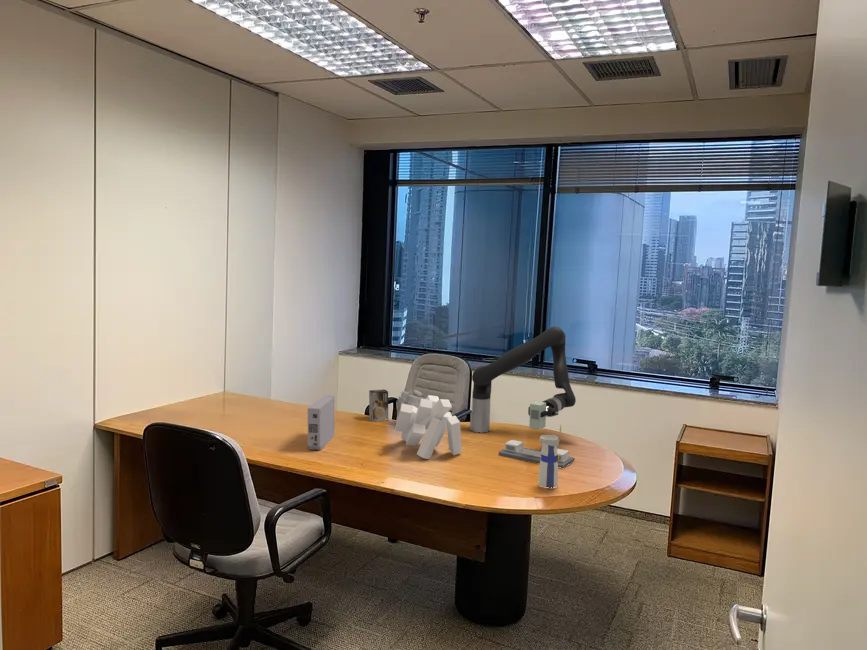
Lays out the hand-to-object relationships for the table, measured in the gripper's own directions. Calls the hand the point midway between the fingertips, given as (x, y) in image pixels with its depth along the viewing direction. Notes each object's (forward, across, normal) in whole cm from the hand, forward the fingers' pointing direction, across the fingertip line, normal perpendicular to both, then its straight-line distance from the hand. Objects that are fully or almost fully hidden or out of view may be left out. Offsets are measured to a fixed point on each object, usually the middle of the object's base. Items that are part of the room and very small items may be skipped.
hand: (535, 414), depth 278 cm
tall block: (-3, 0, +7) cm, 7 cm away
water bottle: (+26, +18, +21) cm, 37 cm away
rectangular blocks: (-2, 0, +19) cm, 19 cm away
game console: (+37, -92, +20) cm, 102 cm away
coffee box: (-12, -97, +20) cm, 100 cm away
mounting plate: (-2, 0, +19) cm, 19 cm away
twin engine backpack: (-15, -74, +21) cm, 78 cm away
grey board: (-2, 0, +21) cm, 21 cm away
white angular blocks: (+18, -45, +21) cm, 53 cm away
